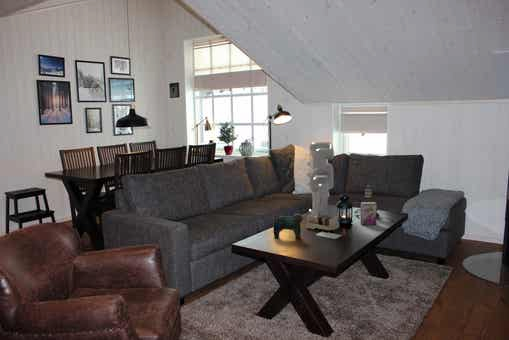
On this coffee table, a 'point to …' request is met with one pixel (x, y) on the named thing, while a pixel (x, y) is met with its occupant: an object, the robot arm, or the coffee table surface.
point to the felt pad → (328, 235)
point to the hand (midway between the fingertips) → (322, 224)
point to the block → (324, 219)
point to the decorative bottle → (367, 197)
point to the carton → (332, 225)
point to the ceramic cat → (288, 224)
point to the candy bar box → (368, 213)
